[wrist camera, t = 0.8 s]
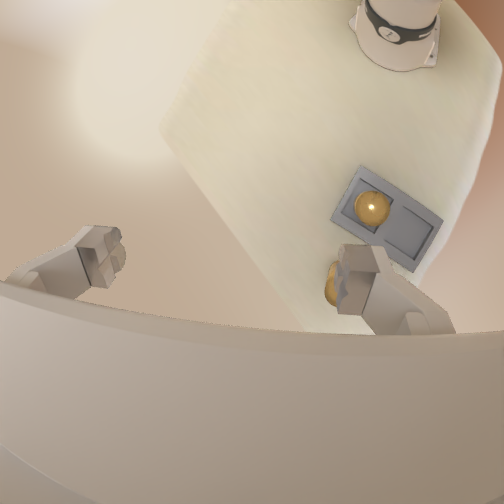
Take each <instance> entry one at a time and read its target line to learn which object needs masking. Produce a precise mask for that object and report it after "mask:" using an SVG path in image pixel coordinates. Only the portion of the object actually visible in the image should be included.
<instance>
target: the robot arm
mask: <svg viewBox="0 0 504 504" xmlns="http://www.w3.org/2000/svg"><path fill="white" fill-rule="evenodd" d="M441 2H442V0H362V1H361V6H358V8H357V13H356V14H355V15H354V16H353V17H352V18H351V19H350V20H349V26H350V28H351V29H352V30H353V31H354V32H355V34H356V36H357V39H358V42H359V45H360V47H361V49H362V50H363V52H364V53H365V54H366V55H367V56H368V57H369V58H370V59H371V60H372V61H373V62H375V63H376V64H378V65H380V66H382V67H384V68H387V69H390V70H394V71H411V70H414V69H417V68H420V67H430V68H431V67H435V65H436V62H437V53H438V44H439V33H440V16H439V14H438V13H437V12H438V9H439V7H440V4H441ZM430 56H432V58H431V57H430ZM121 238H122V236H121V232H120V230H119V229H118V228H117V227H108V226H96V225H87V226H84V227H83V228H82V229H81V230H80V231H79V232H78V233H77V234H76V235H75V236H74V237H73V238H72V239H70V241H69V242H67V243H66V244H65V246H59V247H57V248H55V249H54V250H51V251H49V252H47V253H45V254H43V255H41V256H39V257H37V258H34V259H32V260H31V261H28V262H26V263H25V264H22V265H21V266H19V267H17V268H16V269H15V270H14V271H13V272H12V273H11V275H10V276H9V277H8V278H7V279H6V280H5V281H1V280H0V504H504V331H493V332H482V333H481V332H480V333H465V334H456V332H455V329H454V327H453V324H452V322H451V320H450V318H449V315H448V313H447V312H446V311H445V310H444V309H443V308H442V307H440V306H439V305H438V304H436V303H435V302H434V301H433V300H432V299H430V298H429V297H428V296H426V295H425V294H424V293H422V292H421V291H420V290H419V289H418V288H416V287H415V286H414V285H413V284H411V283H410V282H409V281H407V280H406V279H405V278H403V277H402V276H401V275H399V274H395V272H394V269H393V267H392V264H391V262H390V260H389V258H388V255H387V253H386V251H385V248H384V247H383V246H369V245H353V244H341V247H340V250H339V259H340V262H339V263H338V264H337V265H336V269H335V275H334V289H335V292H336V293H337V298H336V304H337V311H338V314H347V315H361V317H362V318H363V319H364V320H365V322H366V323H367V324H368V325H369V326H370V328H371V329H372V330H373V331H374V333H375V334H376V335H353V334H328V333H310V332H295V331H280V330H269V329H259V328H248V327H239V326H230V325H221V324H213V323H205V322H197V321H190V320H183V319H176V318H170V317H163V316H156V315H151V314H144V313H139V312H134V311H128V310H123V309H117V308H112V307H107V306H102V305H97V304H92V303H87V302H83V301H78V300H74V299H75V298H77V297H78V296H79V295H81V294H82V293H84V292H85V291H86V290H88V289H89V288H91V286H93V287H99V288H107V289H108V288H109V287H110V285H111V283H112V282H113V281H114V279H115V278H116V276H115V273H117V272H119V271H120V270H121V269H122V268H123V266H124V264H125V260H126V252H125V248H124V246H123V245H122V244H121V243H120V240H121Z"/></svg>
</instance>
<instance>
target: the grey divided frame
mask: <svg viewBox="0 0 504 504" xmlns="http://www.w3.org/2000/svg"><path fill="white" fill-rule="evenodd" d="M366 191H378V192H380V193H382V194H383V195H384V196H385V197H386V198H387V199H388V201H389V204H390V214H389V216H388V218H387V220H386V221H385V222H384V223H382V224H381V225H378V226H369V225H366V224H364V223H363V222H362V221H361V220H360V219H359V217H358V216H357V215H356V213H355V211H354V208H353V203H354V200H355V198H356V196H357V195H358V194H360V193H362V192H366ZM330 220H331V221H333V222H334V223H336V224H338V225H339V226H341V227H343V228H344V229H346V230H348V231H349V232H351V233H352V234H354V235H356V236H357V237H359V238H360V239H362V240H364V241H365V242H367V243H368V244H370V245H371V246H383V247H384V248H385V251H386V253H387V255H388V257H390V258H391V259H393V260H394V261H396V262H397V263H399V264H400V265H402V266H403V267H405V268H406V269H408V270H409V271H411V272H412V273H413V272H414V271H415V269H416V267H417V266H418V264H419V263H420V261H421V259H422V258H423V256H424V254H425V253H426V251H427V249H428V248H429V246H430V244H431V243H432V241H433V239H434V237H435V236H436V234H437V232H438V230H439V229H440V227H441V225H442V223H443V220H442V219H441V218H439V217H438V216H437V215H435V214H434V213H433V212H431V211H430V210H428V209H427V208H426V207H424V206H423V205H421V204H420V203H419V202H417V201H416V200H414V199H413V198H411V197H410V196H408V195H407V194H405V193H404V192H402V191H401V190H399V189H398V188H396V187H395V186H393V185H392V184H390V183H389V182H387V181H385V180H384V179H382V178H381V177H379V176H377V175H376V174H374V173H373V172H371V171H369V170H368V169H366V168H364V167H363V166H361V165H360V167H359V169H358V171H357V172H356V174H355V176H354V178H353V180H352V182H351V183H350V185H349V187H348V189H347V191H346V192H345V194H344V196H343V198H342V200H341V201H340V203H339V205H338V207H337V208H336V210H335V212H334V214H333V215H332V217H331V219H330Z"/></svg>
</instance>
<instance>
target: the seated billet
mask: <svg viewBox="0 0 504 504" xmlns="http://www.w3.org/2000/svg"><path fill="white" fill-rule="evenodd" d="M353 208H354V211H355V213H356V215H357V216H358V217H359V219H360V220H361V221H362V222H363V223H364V224H366V225H369V226H378V225H381V224H382V223H384V222H385V221H386V220H387V218H388V216H389V214H390V204H389V201H388V199H387V198H386V197H385V196H384V195H383V194H382V193H380V192H378V191H366V192H362V193H360V194H358V195H357V196H356V198H355V200H354V203H353Z"/></svg>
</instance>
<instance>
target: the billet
mask: <svg viewBox="0 0 504 504" xmlns="http://www.w3.org/2000/svg"><path fill="white" fill-rule="evenodd" d="M339 262H340V260H338V261H336V262H334V263H333V264H332V265H331V267H330V269H329V273H328V277H327V282H326V286H325V297H326V299H327V301H328V302H329V303H330V304H331V305H333V306H335V307H337V304H336V298H337V293H336V292H335V289H334V275H335V269H336V265H337V264H338V263H339Z"/></svg>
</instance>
